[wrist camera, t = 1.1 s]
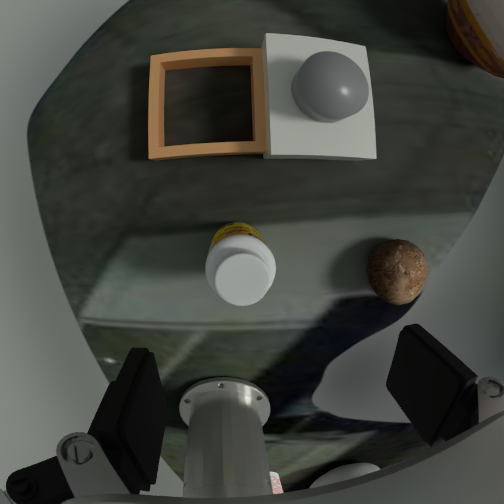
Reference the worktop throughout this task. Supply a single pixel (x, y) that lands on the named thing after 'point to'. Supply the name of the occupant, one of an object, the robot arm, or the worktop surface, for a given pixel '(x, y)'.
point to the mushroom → (397, 271)
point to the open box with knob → (283, 100)
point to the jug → (478, 32)
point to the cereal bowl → (344, 473)
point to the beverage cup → (276, 483)
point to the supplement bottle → (239, 264)
